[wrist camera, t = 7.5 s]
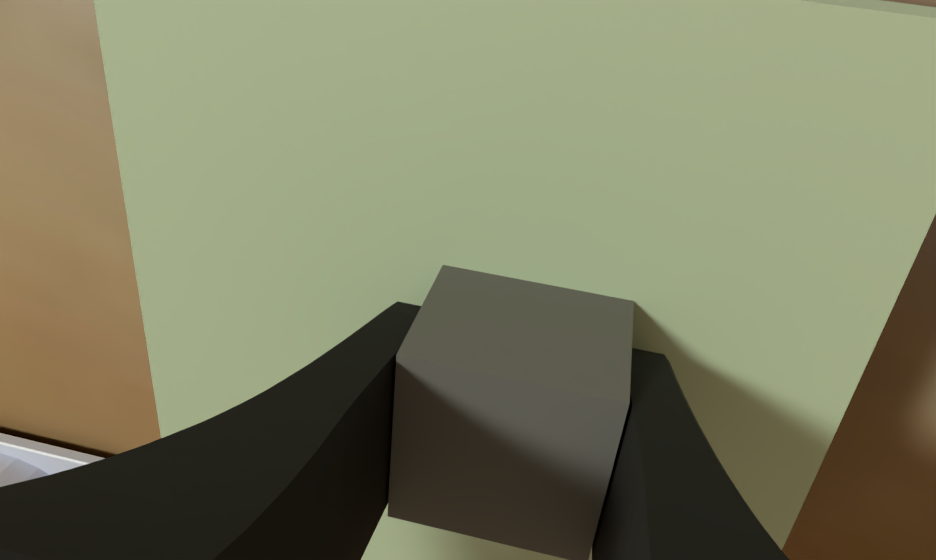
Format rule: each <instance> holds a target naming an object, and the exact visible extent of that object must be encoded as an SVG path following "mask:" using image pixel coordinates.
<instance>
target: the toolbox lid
mask: <svg viewBox="0 0 936 560" xmlns="http://www.w3.org/2000/svg"><path fill="white" fill-rule="evenodd" d="M94 6H95V13H96V19H97V25H98V32H99V38H100V45H101V51H102V58H103V64H104V71H105V77H106V84H107V90H108V97H109V103H110V110H111V116H112V123H113V129H114V136H115V142H116V149H117V155H118V162H119V168H120V174H121V181H122V187H123V194H124V200H125V207H126V213H127V220H128V226H129V233H130V239H131V246H132V252H133V259H134V265H135V272H136V278H137V285H138V291H139V298H140V304H141V310H142V317H143V323H144V330H145V336H146V343H147V349H148V356H149V362H150V369H151V375H152V382H153V388H154V395H155V401H156V408H157V414H158V421H159V427H160V434H161V438H163V437H166V436H168V435H171V434H173V433H176V432H178V431H181V430H183V429H186V428H188V427H191V426H193V425H196V424H198V423H201V422H203V421H205V420H208V419H210V418H212V417H214V416H216V415H218V414H220V413H222V412H224V411H227V410H229V409H231V408H233V407H235V406H237V405H239V404H241V403H243V402H245V401H247V400H249V399H251V398H253V397H254V396H256V395H258V394H260V393H262V392H264V391H265V390H267V389H269V388H271V387H272V386H274V385H276V384H277V383H279V382H281V381H282V380H284V379H285V378H287V377H289V376H290V375H292V374H294V373H295V372H297V371H298V370H300V369H302V368H303V367H305V366H307V365H308V364H310V363H311V362H313V361H314V360H316V359H317V358H318V357H320V356H321V355H323V354H324V353H326V352H327V351H329V350H330V349H332V348H333V347H334V346H336V345H337V344H339V343H340V342H342V341H343V340H345V339H346V338H347V337H349V336H350V335H351V334H353V333H354V332H356V331H357V330H358V329H360V328H361V327H362V326H364V325H365V324H366V323H368V322H369V321H370V320H372V319H373V318H374V317H376V316H377V315H379V314H380V313H381V312H383V311H384V310H385V309H387V308H388V307H390V306H391V305H393V304H394V303H396V302H397V301H398V302H403V303H408V304H413V305H419V306H421V308H420V310H419V312H418V314H417V316H416V318H415V320H414V322H413V323H412V325H411V327H410V329H409V331H408V333H407V335H406V337H405V339H404V341H403V343H402V345H401V347H400V349H399V351H398V352H397V354H396V371H395V389H394V407H393V426H392V444H391V462H390V480H389V498H388V504H387V506H386V508H385V510H384V512H383V515H382V517H381V519H380V521H379V523H378V525H377V527H376V529H375V531H374V533H373V535H372V537H371V539H370V542H369V544H368V546H367V548H366V550H365V552H364V554H363V556H362V558H361V560H592V544H593V540H594V536H595V533H596V529H597V525H598V521H599V517H600V514H601V510H602V506H603V502H604V498H605V495H606V491H607V487H608V483H609V480H610V476H611V472H612V468H613V464H614V461H615V457H616V453H617V449H618V445H619V442H620V438H621V434H622V430H623V426H624V423H625V419H626V415H627V411H628V407H629V404H630V383H631V359H632V348H635V349H640V350H645V351H650V352H655V353H660V354H664V355H665V356H666V357H667V359H668V360H669V362H670V364H671V367H672V369H673V371H674V374H675V376H676V378H677V381H678V383H679V385H680V387H681V389H682V392H683V394H684V396H685V398H686V400H687V402H688V404H689V406H690V408H691V410H692V412H693V414H694V416H695V418H696V420H697V422H698V424H699V426H700V428H701V429H702V431H703V433H704V435H705V436H706V438H707V440H708V442H709V444H710V445H711V447H712V449H713V451H714V453H715V454H716V456H717V458H718V459H719V461H720V463H721V464H722V466H723V468H724V469H725V471H726V473H727V474H728V476H729V477H730V479H731V480H732V482H733V484H734V485H735V487H736V488H737V490H738V491H739V493H740V494H741V496H742V497H743V499H744V500H745V502H746V503H747V505H748V506H749V508H750V509H751V511H752V512H753V513H754V515H755V516H756V518H757V519H758V520H759V522H760V523H761V525H762V526H763V527H764V528H765V530H766V531H767V532H768V534H769V535H770V536H771V537H772V539H773V540H774V541H775V543H776V544H777V545H778V546H779V548H780V549H781V550H782V549H783V547H784V545H785V542H786V540H787V538H788V536H789V534H790V531H791V529H792V527H793V525H794V523H795V521H796V518H797V516H798V514H799V512H800V510H801V507H802V505H803V503H804V501H805V499H806V496H807V494H808V492H809V490H810V488H811V486H812V483H813V481H814V479H815V477H816V475H817V472H818V470H819V468H820V466H821V464H822V462H823V459H824V457H825V455H826V453H827V451H828V448H829V446H830V444H831V442H832V440H833V437H834V435H835V433H836V431H837V429H838V427H839V424H840V422H841V420H842V418H843V416H844V413H845V411H846V409H847V407H848V405H849V402H850V400H851V398H852V396H853V394H854V392H855V389H856V387H857V385H858V383H859V381H860V378H861V376H862V374H863V372H864V370H865V367H866V365H867V363H868V361H869V359H870V357H871V354H872V352H873V350H874V348H875V346H876V343H877V341H878V339H879V337H880V335H881V332H882V330H883V328H884V326H885V324H886V322H887V319H888V317H889V315H890V313H891V311H892V308H893V306H894V304H895V302H896V300H897V297H898V295H899V293H900V291H901V289H902V287H903V284H904V282H905V280H906V278H907V276H908V273H909V271H910V269H911V267H912V265H913V262H914V260H915V258H916V256H917V254H918V252H919V249H920V247H921V245H922V243H923V241H924V238H925V236H926V234H927V232H928V230H929V228H930V225H931V223H932V221H933V219H934V217H935V214H936V7H929V6H921V5H914V4H906V3H898V2H890V1H883V0H94Z"/></svg>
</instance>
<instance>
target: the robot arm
mask: <svg viewBox="0 0 936 560" xmlns="http://www.w3.org/2000/svg"><path fill="white" fill-rule="evenodd" d="M420 308H421V306H419V305H413V304H408V303H403V302H398V301H397V302H396V303H394V304H393V305H391V306H390V307H388V308H387V309H385V310H384V311H383V312H381V313H380V314H379V315H377V316H376V317H374V318H373V319H372V320H370V321H369V322H368V323H366V324H365V325H364V326H362V327H361V328H360V329H358V330H357V331H356V332H354V333H353V334H351V335H350V336H349V337H347V338H346V339H345V340H343V341H342V342H340V343H339V344H337V345H336V346H334V347H333V348H332V349H330V350H329V351H327V352H326V353H324V354H323V355H321V356H320V357H318V358H317V359H316V360H314V361H313V362H311V363H310V364H308V365H307V366H305V367H303V368H302V369H300V370H298V371H297V372H295V373H294V374H292V375H290V376H289V377H287V378H285V379H284V380H282V381H281V382H279V383H277V384H276V385H274V386H272V387H271V388H269V389H267V390H265V391H264V392H262V393H260V394H258V395H256V396H254V397H253V398H251V399H249V400H247V401H245V402H243V403H241V404H239V405H237V406H235V407H233V408H231V409H229V410H227V411H224V412H222V413H220V414H218V415H216V416H214V417H212V418H210V419H208V420H205V421H203V422H201V423H198V424H196V425H193V426H191V427H188V428H186V429H183V430H181V431H178V432H176V433H173V434H171V435H168V436H166V437H163V438H161V439H158V440H156V441H153V442H151V443H149V444H146V445H143V446H141V447H138V448H135V449H132V450H129V451H126V452H123V453H120V454H117V455H114V456H111V457H108V458H103V457H99V456H94V455H90V454H86V453H82V452H78V451H74V450H70V449H65V448H61V447H57V446H53V445H49V444H45V443H41V442H36V441H32V440H28V439H24V438H20V437H16V436H12V435H8V434H3V433H0V560H361V558H362V556H363V554H364V552H365V550H366V548H367V546H368V544H369V542H370V539H371V537H372V535H373V533H374V531H375V529H376V527H377V525H378V523H379V521H380V519H381V517H382V515H383V512H384V510H385V508H386V506H387V504H388V498H389V480H390V462H391V444H392V426H393V407H394V389H395V371H396V354H397V352H398V351H399V349H400V347H401V345H402V343H403V341H404V339H405V337H406V335H407V333H408V331H409V329H410V327H411V325H412V323H413V322H414V320H415V318H416V316H417V314H418V312H419V310H420ZM592 560H789V559H788V558H787V556H786V555H785V554H784V553H783V552H782V550H781V549H780V548H779V546H778V545H777V544H776V543H775V541H774V540H773V539H772V537H771V536H770V535H769V534H768V532H767V531H766V530H765V528H764V527H763V526H762V525H761V523H760V522H759V520H758V519H757V518H756V516H755V515H754V513H753V512H752V511H751V509H750V508H749V506H748V505H747V503H746V502H745V500H744V499H743V497H742V496H741V494H740V493H739V491H738V490H737V488H736V487H735V485H734V484H733V482H732V480H731V479H730V477H729V476H728V474H727V473H726V471H725V469H724V468H723V466H722V464H721V463H720V461H719V459H718V458H717V456H716V454H715V453H714V451H713V449H712V447H711V445H710V444H709V442H708V440H707V438H706V436H705V435H704V433H703V431H702V429H701V428H700V426H699V424H698V422H697V420H696V418H695V416H694V414H693V412H692V410H691V408H690V406H689V404H688V402H687V400H686V398H685V396H684V394H683V392H682V389H681V387H680V385H679V383H678V381H677V378H676V376H675V374H674V371H673V369H672V367H671V364H670V362H669V360H668V359H667V357H666V356H665V355H664V354H660V353H655V352H650V351H645V350H640V349H635V348H632V359H631V383H630V404H629V407H628V411H627V415H626V419H625V423H624V426H623V430H622V434H621V438H620V442H619V445H618V449H617V453H616V457H615V461H614V464H613V468H612V472H611V476H610V480H609V483H608V487H607V491H606V495H605V498H604V502H603V506H602V510H601V514H600V517H599V521H598V525H597V529H596V533H595V536H594V540H593V544H592Z"/></svg>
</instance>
